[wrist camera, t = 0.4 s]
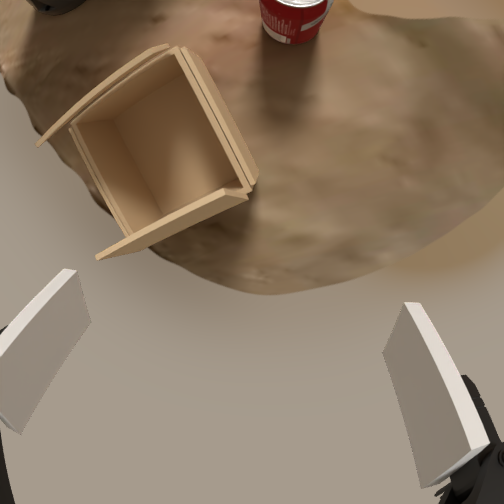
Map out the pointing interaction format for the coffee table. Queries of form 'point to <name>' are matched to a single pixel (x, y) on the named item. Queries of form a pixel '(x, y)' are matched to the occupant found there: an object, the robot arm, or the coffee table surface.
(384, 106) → the coffee table surface
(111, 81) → the flap
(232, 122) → the carton
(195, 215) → the flap
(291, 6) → the soda can
